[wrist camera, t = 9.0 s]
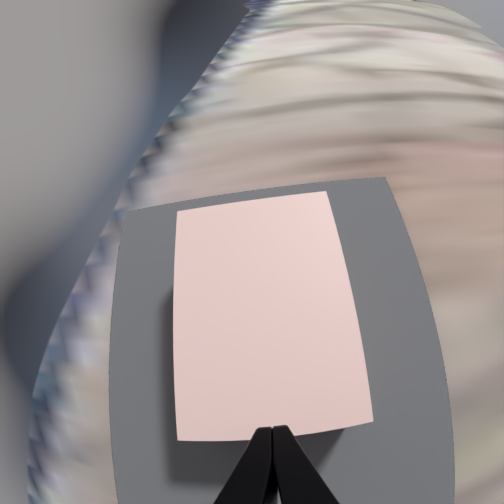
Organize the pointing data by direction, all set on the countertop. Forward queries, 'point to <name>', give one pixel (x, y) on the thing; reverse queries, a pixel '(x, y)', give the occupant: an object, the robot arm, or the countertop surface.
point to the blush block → (264, 321)
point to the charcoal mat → (314, 445)
